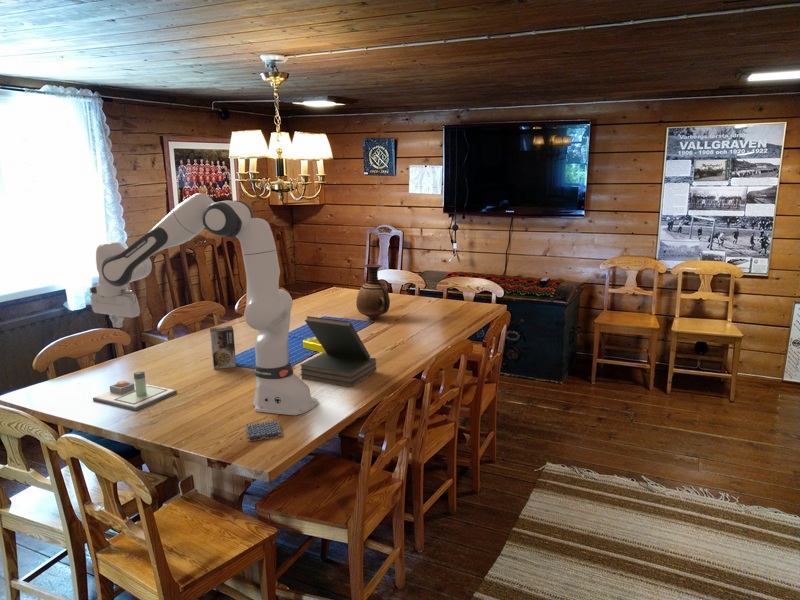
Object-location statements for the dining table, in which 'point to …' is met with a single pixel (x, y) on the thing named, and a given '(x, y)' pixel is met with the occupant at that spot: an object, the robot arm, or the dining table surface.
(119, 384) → the button
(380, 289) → the vase
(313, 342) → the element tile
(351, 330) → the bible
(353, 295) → the dining table surface
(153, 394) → the cream board with holder
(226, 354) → the coffee box
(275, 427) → the woven mat
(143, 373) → the marker
